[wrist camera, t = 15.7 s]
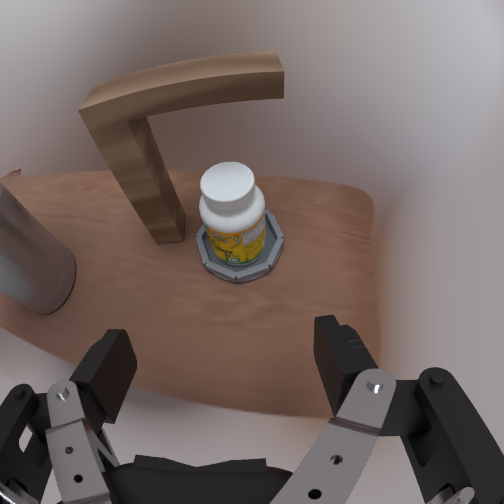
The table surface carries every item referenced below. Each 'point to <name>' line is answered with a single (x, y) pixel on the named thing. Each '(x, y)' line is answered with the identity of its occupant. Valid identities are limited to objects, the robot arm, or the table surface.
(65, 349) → the table surface
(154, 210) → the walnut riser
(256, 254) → the supplement bottle
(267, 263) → the locator ring
